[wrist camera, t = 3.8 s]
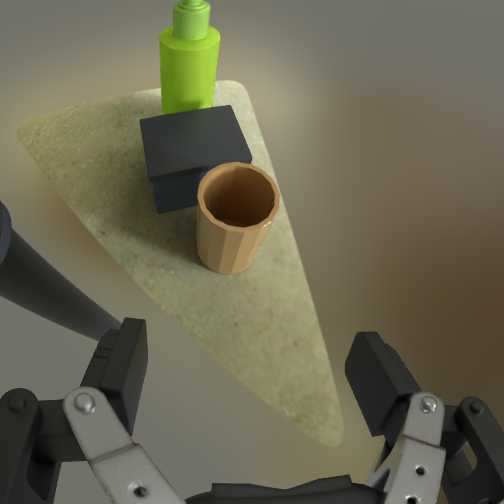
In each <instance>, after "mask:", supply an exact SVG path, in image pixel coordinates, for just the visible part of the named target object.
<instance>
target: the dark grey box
mask: <svg viewBox="0 0 504 504" xmlns="http://www.w3.org/2000/svg"><path fill="white" fill-rule="evenodd" d="M140 126H141V132H142V139H143V145H144V151H145V157H146V162H147V168H148V174H149V179H150V183H152V185H153V190H154V195H155V200H156V205H157V210H158V214H161V213H165V212H170V211H174V210H179V209H183V208H188V207H192V206H197V194H198V189H199V183H200V182H201V180H202V179H203V178H204V176H205V175H206V174H207V172H208V171H210V170H212V169H213V168H215V167H217V166H218V165H221V164H225V163H231V162H241V163H247V164H251V162H252V155H251V153H250V150H249V148H248V145H247V143H246V140H245V138H244V136H243V133H242V131H241V128H240V126H239V124H238V121H237V119H236V117H235V114H234V112H233V109H232V107H231V105H226V106H218V107H210V108H203V109H196V110H190V111H184V112H178V113H172V114H167V115H161V116H156V117H151V118H146V119H141V120H140Z"/></svg>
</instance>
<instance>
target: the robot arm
mask: <svg viewBox="0 0 504 504" xmlns="http://www.w3.org/2000/svg"><path fill="white" fill-rule="evenodd" d="M147 363H148V347H147V331H146V321H145V320H144V319H136V318H128V317H125V319H124V321H123V323H122V325H121V328H120V330H114V329H110V330H109V331H108V332H107V333H105V334H104V335H103V336H102V337H101V339H100V341H99V343H98V345H97V349H96V350H95V352H94V354H93V357H92V359H91V361H90V364H89V366H88V368H87V370H86V373H85V375H84V377H83V380H82V382H81V385H80V387H78V388H75V389H73V390H71V391H70V392H68V393H67V394H66V396H65V397H64V399H61V400H45V401H38V400H37V398H36V396H35V395H34V394H33V393H32V392H31V391H29V390H27V389H23V388H16V389H12V390H10V391H8V392H6V393H5V394H4V395H3V396H2V397H1V399H0V504H53V502H54V497H55V492H56V486H57V481H58V477H59V472H60V467H61V463H62V462H68V461H69V462H72V461H87V462H88V463H89V465H90V467H91V469H92V471H93V473H94V474H95V476H96V478H97V480H98V481H99V483H100V485H101V487H102V488H103V490H104V491H105V493H106V495H107V496H108V498H109V500H110V501H111V503H112V504H436V500H437V496H438V491H439V487H440V483H441V485H442V487H443V490H444V492H445V495H446V497H447V500H448V502H449V504H504V432H503V430H502V428H501V427H500V425H499V424H498V422H497V420H496V419H495V417H494V416H493V414H492V413H491V411H490V410H489V408H488V407H487V405H486V404H485V403H484V402H483V401H482V400H480V399H478V398H476V397H472V396H469V397H465V398H464V399H463V400H462V402H461V403H460V405H459V406H449V405H444V404H443V402H442V401H441V400H440V398H439V397H437V396H436V395H434V394H432V393H429V392H425V391H422V390H421V389H420V387H419V386H418V384H417V382H416V381H415V379H414V378H413V376H412V375H411V373H410V372H409V370H408V369H407V368H406V365H405V364H404V362H402V359H401V358H400V356H399V355H398V353H397V352H396V351H395V350H394V349H393V348H392V347H391V346H389V345H388V344H385V343H384V342H383V340H382V339H381V337H380V336H379V334H378V333H377V332H358V333H357V334H356V336H355V338H354V341H353V343H352V347H351V349H350V352H349V354H348V357H347V359H346V363H345V374H346V377H347V380H348V382H349V384H350V386H351V389H352V390H353V393H354V395H355V398H356V400H357V402H358V405H359V407H360V409H361V411H362V414H363V416H364V418H365V421H366V423H367V425H368V428H369V430H370V432H371V435H372V437H374V436H379V435H384V437H385V440H384V441H383V442H382V445H381V447H380V450H379V452H378V456H377V458H376V460H375V463H374V465H373V468H372V470H371V472H370V475H369V477H368V479H367V481H366V483H365V484H364V485H363V484H358V483H352V481H351V479H350V475H343V476H336V477H329V478H322V479H317V480H314V481H311V482H308V483H305V484H302V485H299V486H296V487H293V488H290V489H276V488H271V487H264V486H259V485H253V484H227V483H212V489H211V492H205V493H201V494H198V495H195V496H192V497H190V498H187V499H185V500H183V499H182V497H181V496H180V495H179V494H178V493H177V492H176V490H175V489H174V488H173V487H172V485H171V484H170V483H169V482H168V480H167V479H166V478H165V477H164V475H163V474H162V473H161V471H160V470H159V469H158V467H157V466H156V465H155V464H154V462H153V461H152V459H151V458H150V457H149V455H148V454H147V453H146V451H145V450H144V449H143V448H142V446H141V445H139V444H138V443H137V444H135V443H134V442H133V440H132V439H131V437H130V436H132V433H133V428H134V423H135V418H136V414H137V409H138V404H139V399H140V395H141V391H142V386H143V382H144V377H145V373H146V368H147ZM468 442H469V444H470V446H471V448H472V450H473V452H474V454H475V456H476V458H477V466H476V468H475V470H474V471H473V469H472V467H471V465H470V463H469V461H468V459H467V457H466V455H465V453H464V451H463V448H464V447H465V446H466V445H467V443H468Z"/></svg>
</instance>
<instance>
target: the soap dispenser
mask: <svg viewBox="0 0 504 504" xmlns="http://www.w3.org/2000/svg"><path fill="white" fill-rule="evenodd" d="M209 16H210V4H209V3H207V2H205V1H203V0H182V1H180V2H178V3H176V4H175V5H174V6H173V26H172V27H169V28H167V29H166V30H164V31H163V32H162V33H161V35H160V38H159V40H160V73H161V94H162V111H163V115H167V114H172V113H178V112H184V111H190V110H196V109H203V108H210V107H213V97H214V87H215V78H216V69H217V60H218V52H219V44H220V33H219V32H218V31H217V30H216V29H214V28H213V27H211V26H208V25H209Z"/></svg>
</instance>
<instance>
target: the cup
mask: <svg viewBox="0 0 504 504" xmlns="http://www.w3.org/2000/svg"><path fill="white" fill-rule="evenodd" d="M279 204H280V194H279V191H278V189H277V186H276V184H275V182H274V180H273V179H272V178H271V177H270V176H269V175H268V174H267V173H266V172H265V171H264V170H262V169H260V168H258V167H256V166H254V165H252V164H247V163H241V162H231V163H225V164H221V165H218V166H217V167H215V168H213V169H212V170H210V171H208V172H207V174H206V175H205V176H204V178H203V179H202V180H201V182H200V183H199V189H198V194H197V227H196V246H197V251H198V255H199V257H200V259H201V261H202V262H203V263H204V264H205V265H206V266H207V267H208V268H209V269H211V270H212V271H214V272H217V273H220V274H227V275H229V274H236V273H239V272H242V271H244V270H245V269H247V268H248V267H249V266H250V265H251V264H252V263H253V261H254V259H255V257H256V256H257V254H258V252H259V250H260V248H261V245H262V243H263V241H264V239H265V237H266V235H267V233H268V231H269V229H270V227H271V224H272V222H273V220H274V218H275V216H276V214H277V212H278V210H279Z"/></svg>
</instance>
